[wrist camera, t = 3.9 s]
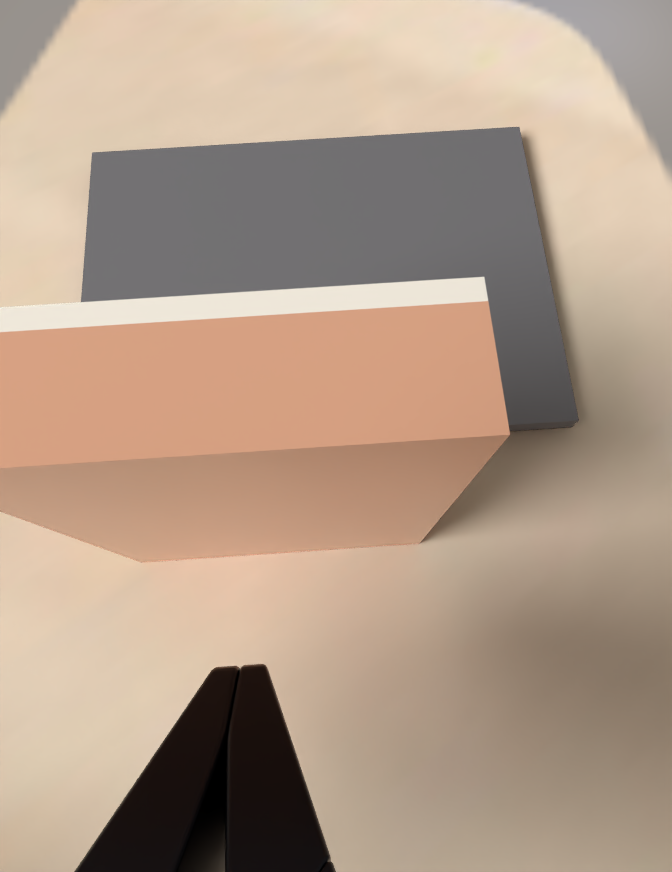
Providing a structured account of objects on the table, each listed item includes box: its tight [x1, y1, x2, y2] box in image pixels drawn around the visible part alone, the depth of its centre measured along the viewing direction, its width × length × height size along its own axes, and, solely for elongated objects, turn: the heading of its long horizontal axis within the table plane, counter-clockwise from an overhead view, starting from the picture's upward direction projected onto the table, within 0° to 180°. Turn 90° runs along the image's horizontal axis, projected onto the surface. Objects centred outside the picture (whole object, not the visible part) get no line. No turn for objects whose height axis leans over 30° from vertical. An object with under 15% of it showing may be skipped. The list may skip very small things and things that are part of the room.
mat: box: [81, 127, 579, 431], centre depth 20 cm, size 11×15×1 cm
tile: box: [0, 277, 510, 562], centre depth 13 cm, size 2×8×10 cm, turn 94°
